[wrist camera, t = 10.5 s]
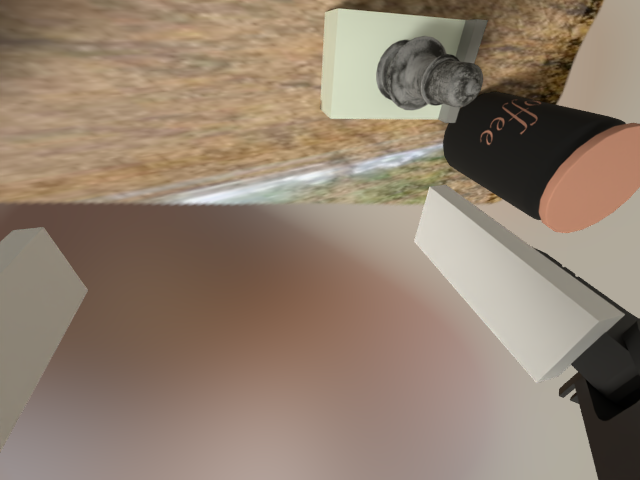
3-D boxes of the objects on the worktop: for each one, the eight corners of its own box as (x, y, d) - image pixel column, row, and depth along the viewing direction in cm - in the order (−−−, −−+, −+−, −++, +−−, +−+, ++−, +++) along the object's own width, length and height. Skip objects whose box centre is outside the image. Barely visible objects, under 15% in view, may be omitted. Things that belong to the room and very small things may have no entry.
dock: (320, 108, 33) (334, 122, 28) (325, 12, 28) (343, 6, 23) (424, 110, 36) (455, 122, 31) (446, 22, 31) (487, 20, 26)
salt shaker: (370, 105, 29) (431, 138, 20) (376, 36, 26) (452, 37, 16) (421, 101, 30) (501, 131, 21) (433, 35, 27) (536, 34, 17)
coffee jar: (515, 79, 36) (688, 106, 22) (502, 155, 43) (628, 214, 29) (439, 104, 36) (565, 148, 22) (437, 177, 43) (533, 247, 29)
